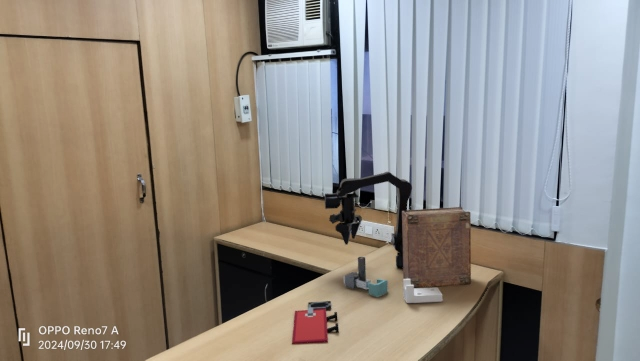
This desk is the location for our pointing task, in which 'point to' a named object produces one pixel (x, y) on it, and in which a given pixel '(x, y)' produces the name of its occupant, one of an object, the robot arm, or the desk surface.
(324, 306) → the red board with handle
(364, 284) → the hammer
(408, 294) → the bracket
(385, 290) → the socket block
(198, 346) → the desk surface
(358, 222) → the robot arm
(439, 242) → the book
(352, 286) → the outer sleeve
